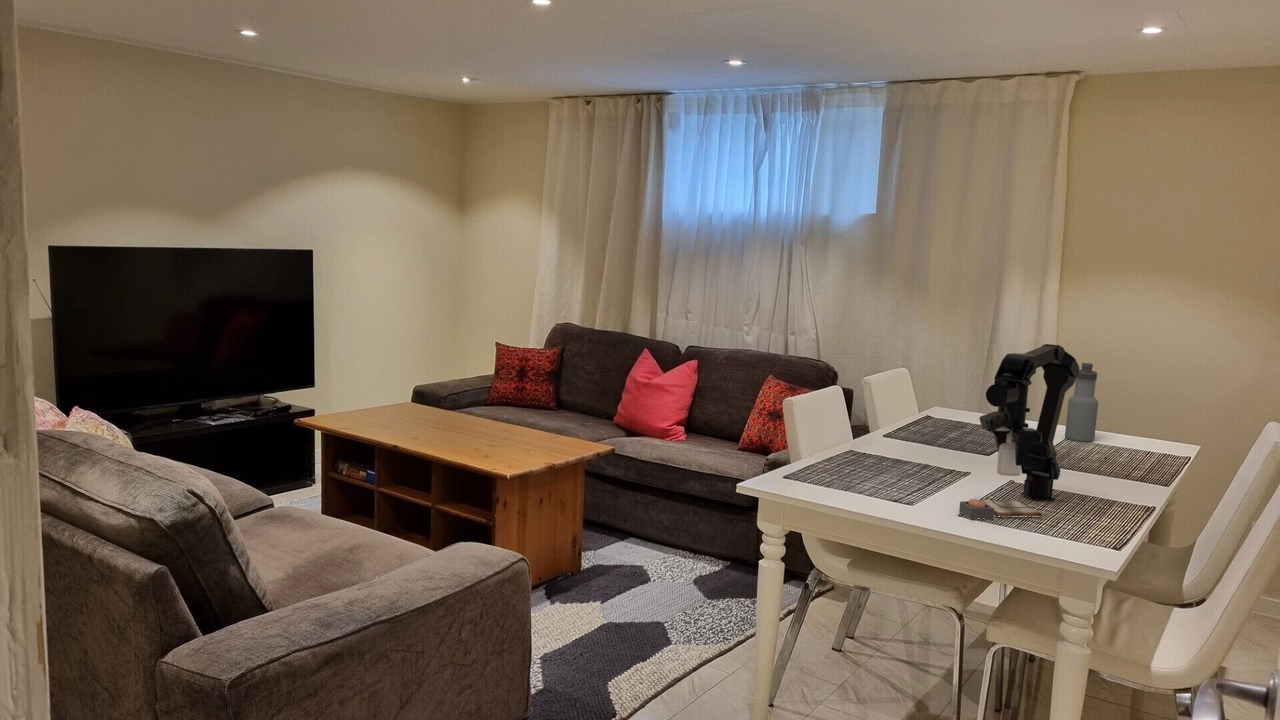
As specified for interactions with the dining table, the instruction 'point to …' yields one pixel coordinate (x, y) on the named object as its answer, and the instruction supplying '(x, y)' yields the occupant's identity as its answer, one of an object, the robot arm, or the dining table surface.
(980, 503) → the button
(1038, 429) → the robot arm
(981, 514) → the button housing
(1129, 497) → the dining table surface
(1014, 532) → the dining table surface
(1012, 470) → the eye dropper bottle
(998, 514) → the board
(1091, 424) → the water bottle
